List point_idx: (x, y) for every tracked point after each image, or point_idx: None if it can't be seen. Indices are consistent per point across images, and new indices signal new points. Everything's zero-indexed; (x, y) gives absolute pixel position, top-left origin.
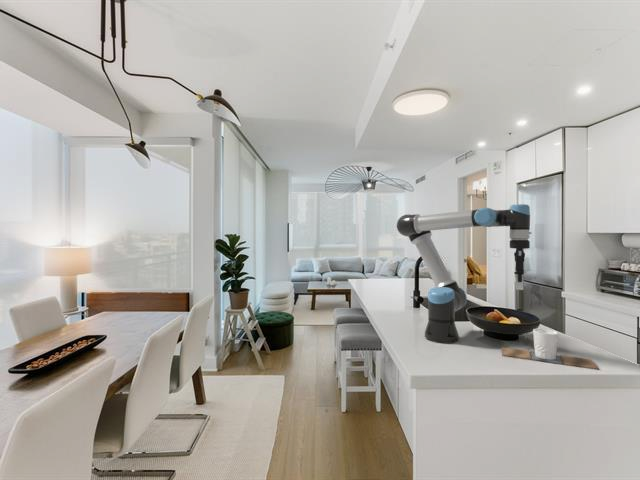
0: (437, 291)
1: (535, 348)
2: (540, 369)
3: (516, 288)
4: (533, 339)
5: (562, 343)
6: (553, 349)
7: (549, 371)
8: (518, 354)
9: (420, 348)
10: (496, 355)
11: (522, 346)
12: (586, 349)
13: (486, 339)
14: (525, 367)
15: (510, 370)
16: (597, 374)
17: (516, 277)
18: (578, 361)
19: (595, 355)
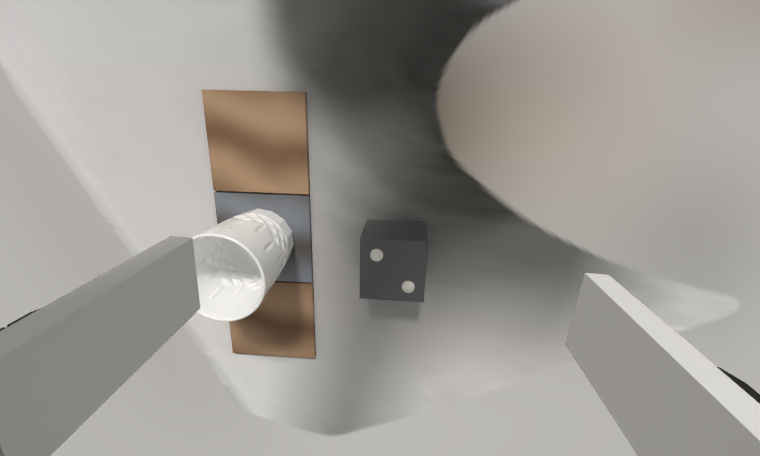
0: None
1: (236, 216)
2: (138, 203)
3: (163, 246)
4: (402, 229)
5: (487, 324)
6: (222, 271)
7: (137, 225)
8: (239, 152)
9: None
10: (197, 67)
11: (377, 179)
12: (437, 375)
13: (424, 25)
14: (127, 160)
15: (65, 109)
16: (193, 337)
17: (18, 329)
18: (269, 321)
19: (377, 380)
